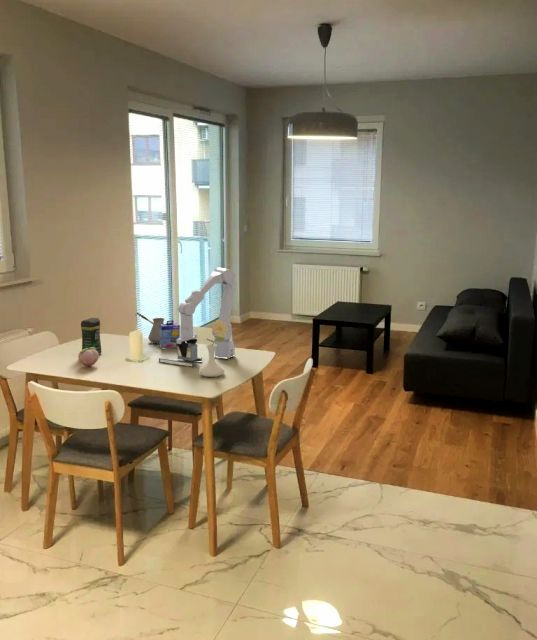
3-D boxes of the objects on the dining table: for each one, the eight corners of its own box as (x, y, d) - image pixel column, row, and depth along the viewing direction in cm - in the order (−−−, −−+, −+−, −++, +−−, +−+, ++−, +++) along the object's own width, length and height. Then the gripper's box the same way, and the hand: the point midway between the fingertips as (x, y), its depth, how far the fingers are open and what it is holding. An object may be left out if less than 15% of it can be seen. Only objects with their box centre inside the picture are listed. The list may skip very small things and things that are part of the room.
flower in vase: (201, 379, 267) (200, 323, 262) (197, 372, 278) (196, 318, 273) (230, 377, 271) (230, 322, 266) (225, 370, 282) (225, 317, 276)
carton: (183, 356, 297) (183, 342, 295) (197, 358, 293) (197, 344, 292) (177, 358, 292) (177, 344, 291) (191, 361, 289) (191, 346, 287)
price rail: (205, 362, 294) (205, 358, 294) (193, 367, 285) (193, 363, 285) (170, 357, 303) (170, 353, 303) (158, 362, 294) (158, 358, 294)
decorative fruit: (89, 363, 291) (88, 342, 289) (102, 365, 288) (101, 345, 285) (74, 368, 283) (73, 347, 281) (87, 370, 279) (86, 349, 277)
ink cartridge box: (162, 349, 318) (161, 321, 315) (159, 346, 323) (158, 319, 320) (180, 347, 322) (180, 320, 319) (177, 345, 327) (176, 318, 324)
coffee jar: (93, 358, 300) (91, 321, 296) (79, 356, 302) (77, 319, 299) (104, 353, 309) (102, 317, 306) (90, 351, 312) (88, 316, 308)
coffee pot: (174, 341, 334) (173, 314, 331) (160, 346, 325) (160, 318, 322) (143, 336, 345) (142, 310, 341) (129, 341, 335) (128, 314, 332)
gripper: (185, 331, 281) (185, 360, 284) (202, 325, 294) (202, 352, 297) (172, 329, 284) (173, 358, 287) (189, 323, 297) (190, 351, 300)
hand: (187, 355), depth 292 cm, fingers closed on carton, 5 cm apart
